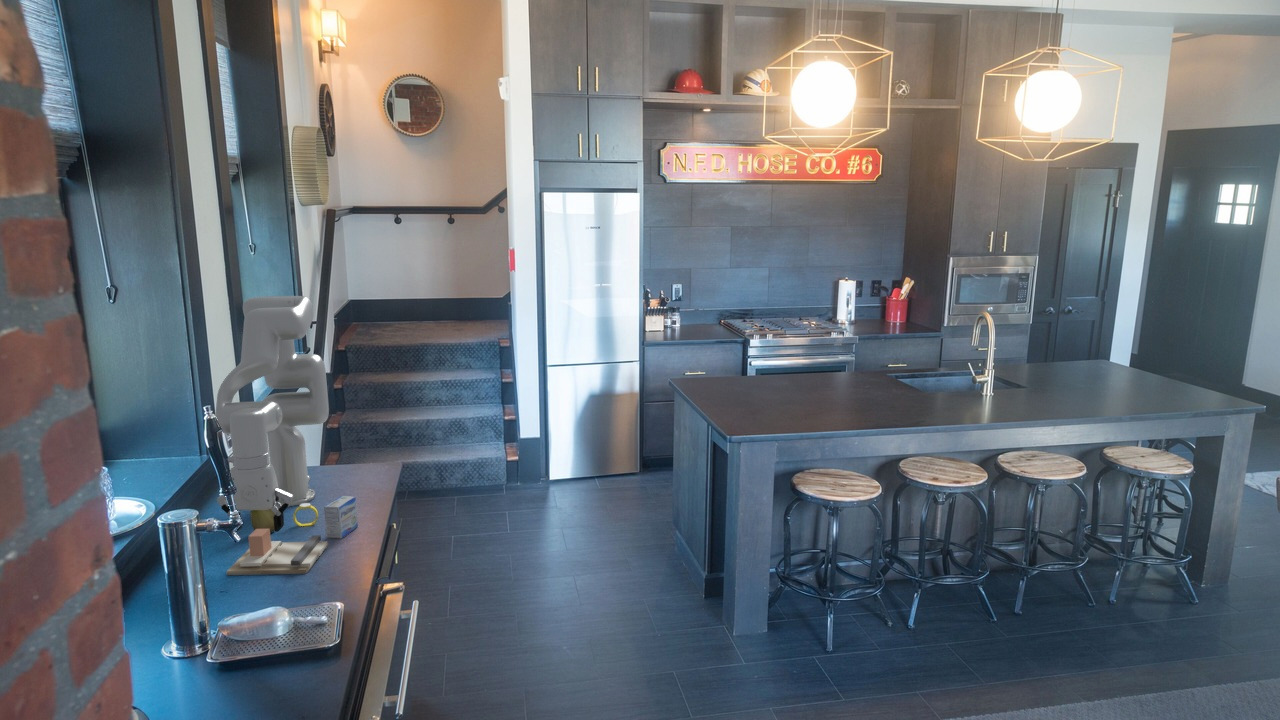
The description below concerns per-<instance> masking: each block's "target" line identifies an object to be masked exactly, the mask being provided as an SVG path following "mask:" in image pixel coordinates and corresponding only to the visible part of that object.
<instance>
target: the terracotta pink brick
mask: <svg viewBox="0 0 1280 720" xmlns="http://www.w3.org/2000/svg"><path fill="white" fill-rule="evenodd" d="M247 537H248V547H249V548H250V554H249V555H248V556H247V557H246V558H245V559H244V560H243V561H242V562H241V563H240V567H244V566H262V564H263V563H264V562H265V561H266V560H267V559H268V558H269V556H270V555H271V554H272V553H273V552H274V551H275V550H276V549H277V548H278V547H279V546H280V545H281V543H282V540H272V538H271V537H272V536H271V533H270V529H256V530H255V531H254V530H253V531H252V532H251V533H250V534H249V535H248V536H247ZM249 548H248V549H249Z"/></svg>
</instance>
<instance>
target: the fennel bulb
mask: <svg viewBox="0 0 1280 720" xmlns="http://www.w3.org/2000/svg"><path fill="white" fill-rule="evenodd" d="M274 516H275V513H274V512H273V511H272V510H271V509H268V510H250V522H251V526H252V528H253V531H255V530H256V529H270V534H272V533H273V532H275V529H274V519H273V517H274Z"/></svg>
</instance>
